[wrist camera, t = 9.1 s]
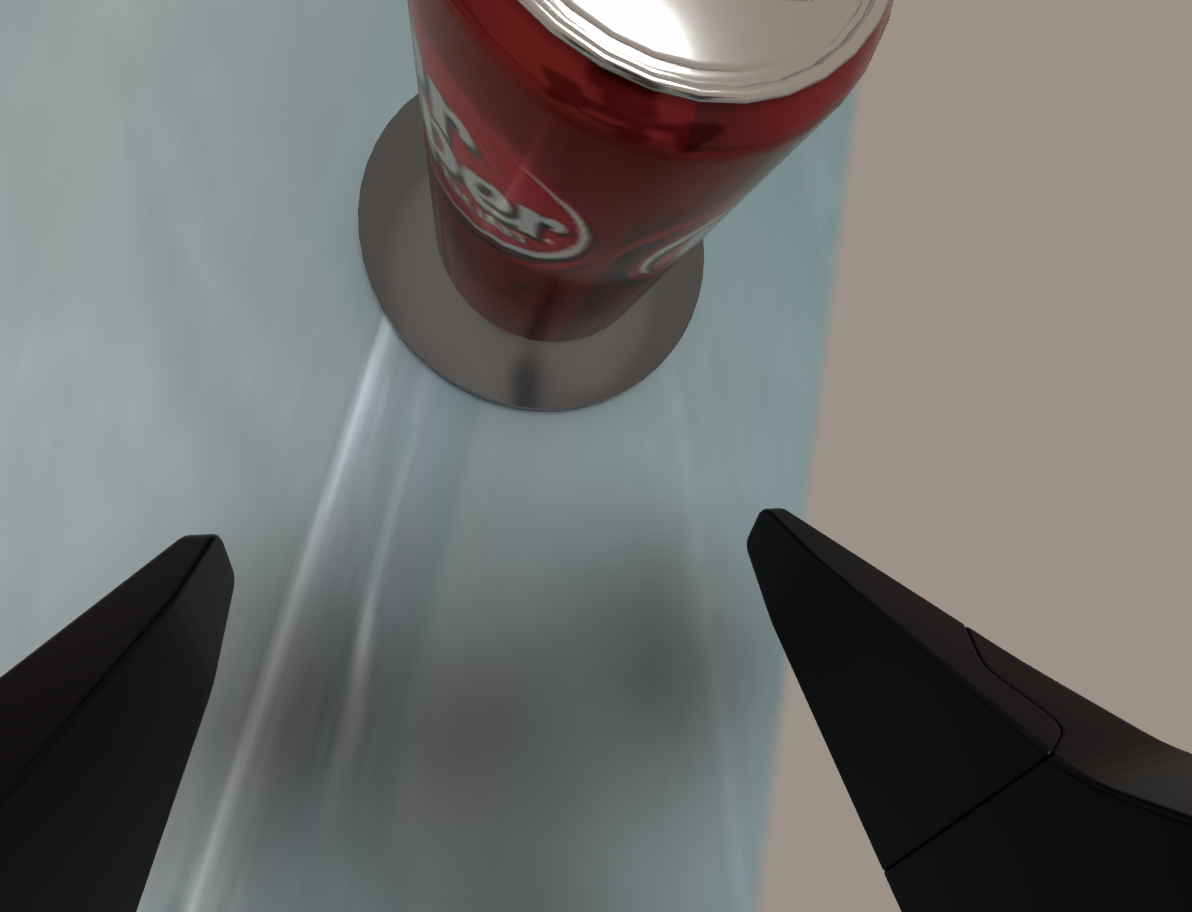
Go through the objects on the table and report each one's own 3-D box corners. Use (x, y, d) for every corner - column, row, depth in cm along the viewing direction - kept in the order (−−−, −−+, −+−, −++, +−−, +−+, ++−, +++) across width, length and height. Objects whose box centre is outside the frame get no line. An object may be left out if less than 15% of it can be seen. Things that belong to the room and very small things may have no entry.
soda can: (641, 150, 19) (917, -349, 7) (648, 349, 19) (943, 157, 7) (432, 125, 17) (366, -585, 6) (439, 345, 17) (386, 82, 6)
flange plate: (724, 376, 21) (734, 372, 20) (411, 444, 18) (409, 443, 17) (655, 72, 20) (663, 56, 19) (322, 88, 17) (316, 71, 16)
